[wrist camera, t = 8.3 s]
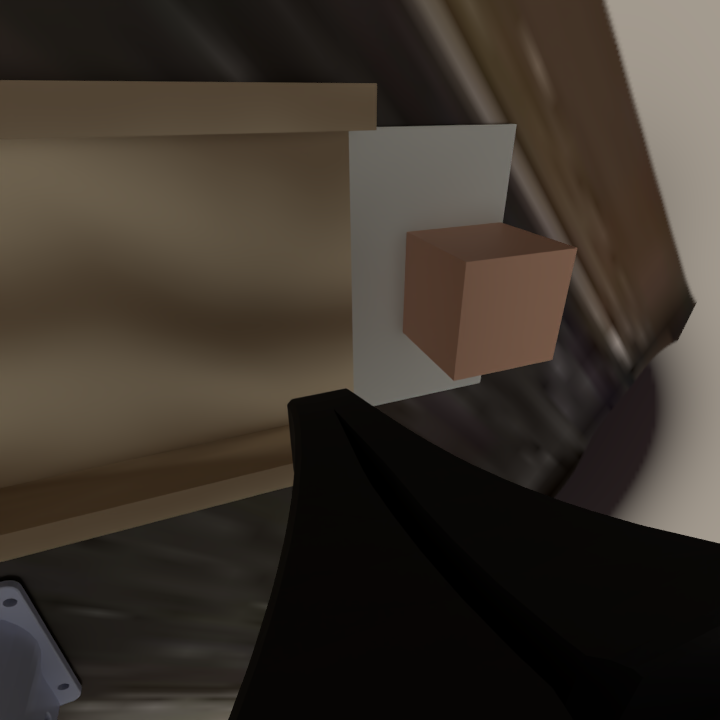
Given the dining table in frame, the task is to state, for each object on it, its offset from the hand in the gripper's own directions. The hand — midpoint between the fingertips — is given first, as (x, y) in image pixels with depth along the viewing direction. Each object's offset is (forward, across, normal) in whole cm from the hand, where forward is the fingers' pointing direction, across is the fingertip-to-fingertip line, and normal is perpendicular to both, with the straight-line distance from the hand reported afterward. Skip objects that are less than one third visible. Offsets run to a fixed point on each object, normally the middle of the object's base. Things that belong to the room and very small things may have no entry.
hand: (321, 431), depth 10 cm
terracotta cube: (+9, -8, 0) cm, 12 cm away
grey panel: (+9, -7, 0) cm, 12 cm away
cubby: (+9, +5, 0) cm, 10 cm away
